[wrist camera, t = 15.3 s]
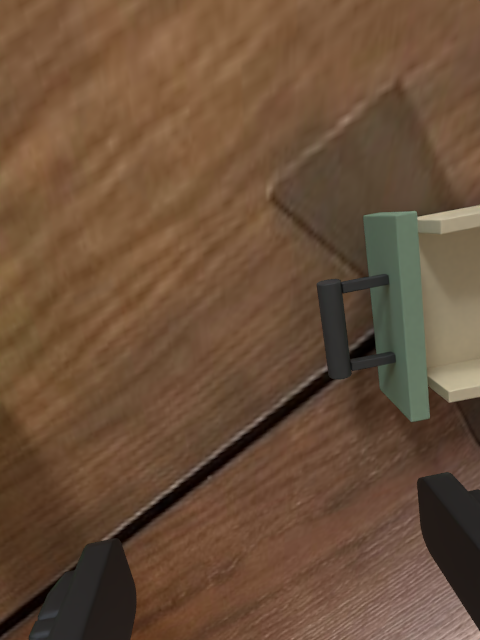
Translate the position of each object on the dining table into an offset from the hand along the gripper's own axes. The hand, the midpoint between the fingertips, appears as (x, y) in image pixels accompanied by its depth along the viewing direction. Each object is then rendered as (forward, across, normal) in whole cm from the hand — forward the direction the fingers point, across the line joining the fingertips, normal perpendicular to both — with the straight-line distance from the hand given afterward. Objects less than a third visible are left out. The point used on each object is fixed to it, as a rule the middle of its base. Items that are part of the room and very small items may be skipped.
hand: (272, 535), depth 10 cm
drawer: (+17, -15, 0) cm, 23 cm away
